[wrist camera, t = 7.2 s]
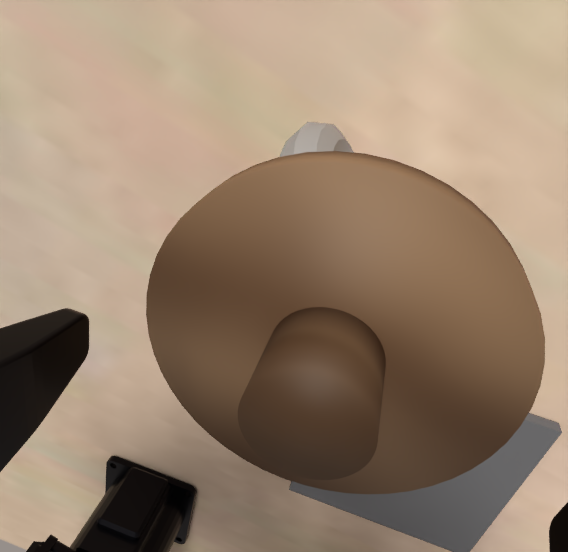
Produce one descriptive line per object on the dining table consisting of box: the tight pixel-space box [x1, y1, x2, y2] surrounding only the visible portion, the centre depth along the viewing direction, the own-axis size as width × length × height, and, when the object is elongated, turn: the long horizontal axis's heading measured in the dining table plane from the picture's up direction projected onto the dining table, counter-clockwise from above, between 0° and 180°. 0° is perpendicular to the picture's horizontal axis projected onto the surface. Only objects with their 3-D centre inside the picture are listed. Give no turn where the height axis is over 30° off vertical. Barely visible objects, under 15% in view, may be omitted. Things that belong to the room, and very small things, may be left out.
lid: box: [146, 151, 545, 494], centre depth 11 cm, size 10×10×4 cm
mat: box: [289, 413, 562, 552], centre depth 26 cm, size 11×11×1 cm
